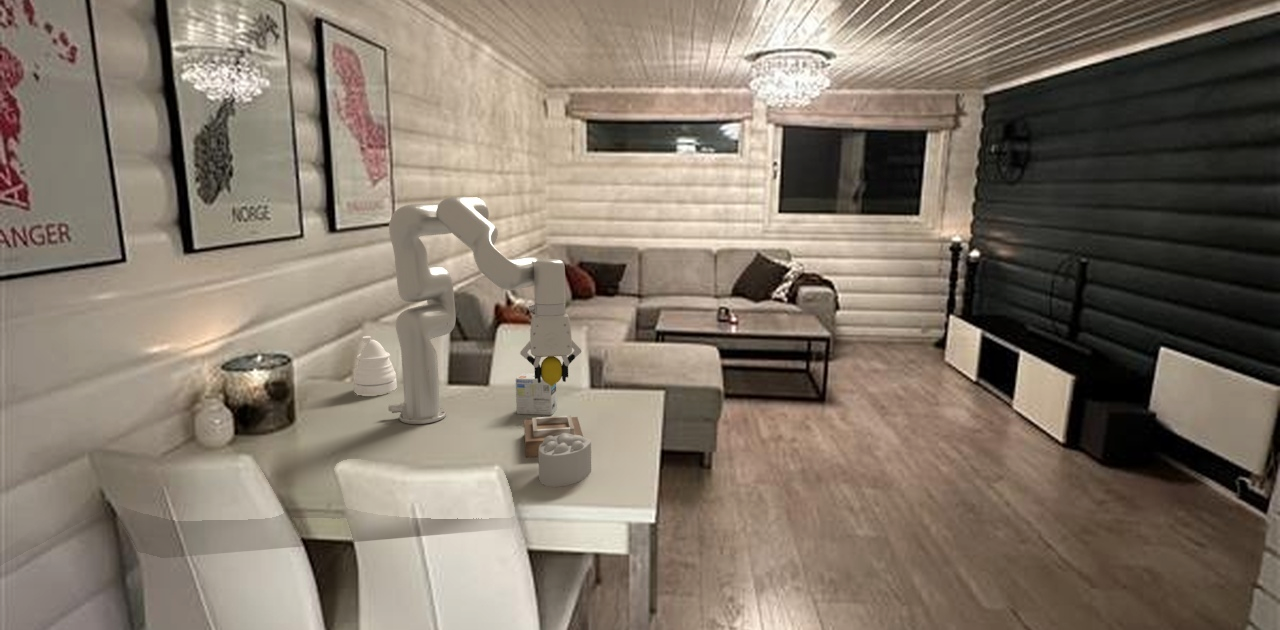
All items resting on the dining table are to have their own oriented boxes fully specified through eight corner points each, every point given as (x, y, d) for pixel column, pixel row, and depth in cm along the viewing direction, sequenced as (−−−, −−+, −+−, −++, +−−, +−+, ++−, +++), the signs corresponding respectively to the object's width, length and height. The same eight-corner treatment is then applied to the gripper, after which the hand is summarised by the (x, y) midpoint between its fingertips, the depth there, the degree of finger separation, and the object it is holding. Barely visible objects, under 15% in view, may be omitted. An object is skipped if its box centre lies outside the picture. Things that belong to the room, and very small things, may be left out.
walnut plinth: (526, 457, 167) (525, 435, 166) (524, 434, 182) (524, 414, 181) (583, 453, 170) (583, 432, 169) (577, 431, 185) (577, 411, 184)
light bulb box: (557, 408, 204) (556, 373, 202) (552, 415, 198) (551, 379, 196) (522, 407, 205) (521, 372, 203) (515, 414, 199) (514, 378, 197)
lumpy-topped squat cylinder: (597, 468, 161) (596, 433, 159) (568, 490, 149) (567, 452, 147) (558, 461, 165) (557, 426, 163) (527, 482, 153) (526, 445, 152)
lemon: (566, 384, 175) (565, 353, 173) (556, 390, 170) (556, 358, 168) (546, 382, 177) (546, 351, 175) (536, 388, 172) (535, 356, 170)
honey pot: (371, 399, 213) (367, 342, 209) (345, 392, 220) (341, 337, 216) (405, 389, 223) (402, 334, 220) (380, 383, 230) (376, 330, 227)
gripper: (514, 313, 165) (517, 386, 168) (586, 311, 168) (587, 383, 171) (514, 308, 172) (516, 378, 175) (583, 306, 175) (584, 375, 178)
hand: (551, 380), depth 173 cm, fingers closed on lemon, 5 cm apart
